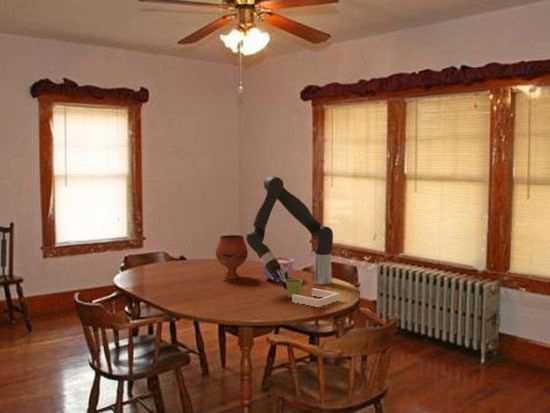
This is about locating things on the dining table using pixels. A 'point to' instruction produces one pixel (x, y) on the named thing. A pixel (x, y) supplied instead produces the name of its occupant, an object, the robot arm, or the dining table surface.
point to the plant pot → (293, 286)
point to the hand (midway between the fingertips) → (287, 288)
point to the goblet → (231, 253)
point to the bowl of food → (284, 263)
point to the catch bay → (326, 299)
